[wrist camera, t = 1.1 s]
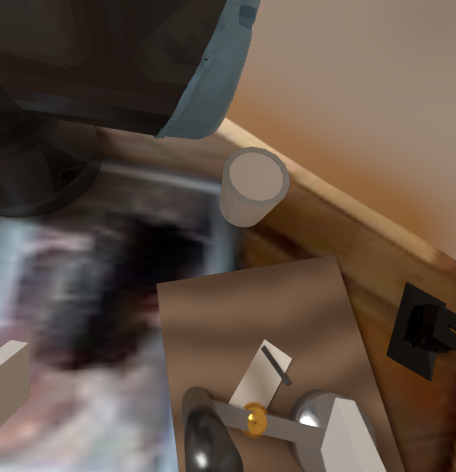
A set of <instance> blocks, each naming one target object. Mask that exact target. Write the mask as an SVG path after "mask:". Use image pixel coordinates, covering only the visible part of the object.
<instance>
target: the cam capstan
mask: <svg viewBox="0 0 456 472" xmlns="http://www.w3.org/2000/svg"><path fill="white" fill-rule="evenodd" d="M335 398H341V399H347V400H352V399H350V398H348V397H346V396H343V395H340V394H338V393H335V392H332V391H329V390H324V389H317V390H312V391H309V392H307V393H305V394H304V395H302V396H301V397H300V398H299V399H298V400H297V401H296V403H295V404H294V406H293V407H292V410H291V412H290V414H289V418H287V417H283V416H279V415H274V414H270V413H268V411H267V409H266V408H265V407H264V406H263V405H262V404H261V403H259V402H255V401H253V402H248V403H247V404H245V405H244V406H243V407H242V406H238V405H233V404H229V403H225V402H221V401H217V400H213V399H210V397H209V395H208V393H207V392H206V390H205V389H203V388H202V387H199V386H194V387H191V388H189V389H188V390H187V391H186V392H185V393H184V395H183V398H182V416H183V433H184V450H185V468H186V472H244V469H243V462H242V458H241V456H240V454H239V452H238V450H237V448H236V446H235V444H234V442H233V440H232V438H231V437H230V435H229V433H228V431H227V429H226V427H225V426H229V427H233V428H238V429H241V430H242V431H243V432H244V434H245V435H247V436H248V437H250V438H260V437H262V436H263V435H267V436H271V437H276V438H280V439H284V440H288V445H289V449H290V452H291V454H292V456H293V458H294V460H295V462H296V463H297V465H298V466H299V467H300V468H301V469H302V470H303V471H304V472H326V468H325V464H324V461H323V457H322V453H321V447H322V444H323V440H324V437H325V433H326V430H327V426H328V423H329V419H330V416H331V412H332V409H333V405H334V402H335ZM352 401H353V400H352ZM355 403H356V402H355ZM356 405H357V408H358V410H359V412H360V414H361V417H362V419H363V421H364V423H365V425H366V428H367V430H368V432H369V434H370V436H371V439H372V441H373V443H374V445H375V448H376V450H377V444H376V437H375V432H374V429H373V426H372V424H371V421H370V419H369V418H368V416H367V414H366V413H365V411H364V410H363V409H362V408H361V407H360V406H359V405H358V404H357V403H356Z"/></svg>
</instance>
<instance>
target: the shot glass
mask: <svg viewBox="0 0 456 472" xmlns="http://www.w3.org/2000/svg"><path fill="white" fill-rule="evenodd" d="M289 187H290V175H289V173H288V171H287V168H286V166H285V164H284V163H283V162H282V161H281V160H280V159H279V158H278V157H277V156H276V155H275V154H273V153H271V152H269V151H268V150H266V149H262V148H257V147H247V148H242V149H239V150H237V151H236V152H234V153H232V154H231V155H230V156H229V157H228V159H227V161H226V162H225V164H224V168H223V177H222V187H221V196H220V206H219V207H220V210H221V213H222V215H223V217H224V218H225V219H226V220H227V221H228V222H229V223H231V224H233V225H235V226H237V227H245V228H246V227H250V226H254V225H255V224H256V223H258V222H259V221H260V220H261V219H262V218H263V217H264V216H266V215H267V214H268V213H269V212H270V211H271V210H272V209H273V208H274V207H275V206H276V205H277V204H278V203H279V202H280V201H281V200H282V199H283V198H284V197H285V195H286V193H287V191H288V189H289Z"/></svg>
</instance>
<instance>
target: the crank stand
mask: <svg viewBox="0 0 456 472" xmlns="http://www.w3.org/2000/svg"><path fill="white" fill-rule="evenodd" d="M157 292H158V301H159V309H160V317H161V326H162V334H163V342H164V351H165V359H166V367H167V376H168V384H169V392H170V401H171V409H172V417H173V426H174V434H175V442H176V451H177V459H178V467H179V472H186V468H185V450H184V433H183V416H182V398H183V395H184V393H185V392H186V391H187V390H188V389H189V388H191V387H194V386H199V387H202V388H203V389H205V390H206V392H207V393H208V395H209V397H210V399H213V400H217V401H221V402H225V403H229V404H233V405H238V406H242V407H243V406H244V405H245V404H247V403H248V402H253V401H255V402H259V403H261V404H262V405H263V406H264V407H265V408H266V409H267V411H268V413H270V414H274V415H279V416H283V417H287V418H289V414H290V412H291V410H292V407H293V406H294V404H295V403H296V401H297V400H298V399H299V398H300V397H301V396H302V395H304V394H305V393H307V392H309V391H312V390H317V389H324V390H329V391H332V392H335V393H338V394H340V395H343V396H346V397H348V398H350V399H352V400H353V401H355V402H356V403H357V404H358V405H359V406H360V407H361V408H362V409H363V410H364V411H365V413H366V414H367V416H368V418H369V419H370V421H371V424H372V426H373V429H374V432H375V437H376V444H377V452H378V454H379V456H380V459H381V461H382V463H383V465H384V467H385V470H386V472H405V470H404V467H403V464H402V461H401V458H400V455H399V452H398V449H397V445H396V442H395V439H394V436H393V433H392V430H391V427H390V424H389V421H388V418H387V415H386V412H385V408H384V405H383V402H382V399H381V396H380V393H379V390H378V387H377V384H376V381H375V378H374V374H373V371H372V368H371V365H370V362H369V359H368V356H367V353H366V350H365V347H364V344H363V340H362V337H361V334H360V331H359V328H358V325H357V322H356V319H355V316H354V313H353V310H352V307H351V303H350V300H349V297H348V294H347V291H346V288H345V285H344V282H343V279H342V276H341V273H340V269H339V266H338V263H337V260H336V257H335V255H329V256H323V257H317V258H311V259H305V260H299V261H292V262H286V263H280V264H274V265H268V266H262V267H256V268H250V269H244V270H238V271H232V272H225V273H219V274H213V275H207V276H201V277H195V278H189V279H183V280H177V281H171V282H165V283H159V284H157ZM225 427H226V429H227V431H228V433H229V435H230V437H231V438H232V440H233V442H234V444H235V446H236V448H237V450H238V452H239V454H240V456H241V458H242V462H243V469H244V472H304V471H303V470H302V469H301V468H300V467H299V466H298V465H297V463H296V462H295V460H294V458H293V456H292V454H291V452H290V449H289V445H288V440H284V439H280V438H276V437H271V436H267V435H263V436H262V437H260V438H250V437H248V436H247V435H245V434H244V432H243V431H242V430H241V429H238V428H233V427H229V426H225Z"/></svg>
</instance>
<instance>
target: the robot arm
mask: <svg viewBox="0 0 456 472" xmlns="http://www.w3.org/2000/svg"><path fill="white" fill-rule="evenodd" d="M260 1H261V0H0V215H4V216H14V217H24V216H34V215H39V214H44V213H47V212H51V211H53V210H56V209H59V208H61V207H63V206H65V205H67V204H68V203H70V202H72V201H73V200H75V199H76V198H77V197H79V196H80V195H81V194H82V193H83V192H84V191H85V190H86V189H87V188H88V187H89V186H90V185H91V183H92V182H93V180H94V179H95V177H96V175H97V173H98V171H99V168H100V165H101V159H102V148H101V143H100V139H99V137H98V134H97V132H96V129H95V127H94V126H99V127H105V128H111V129H117V130H123V131H129V132H135V133H141V134H147V135H153V136H154V137H155V138H164V137H165V136H168V137H177V138H186V139H195V140H196V139H202V138H205V137H207V136H209V135H211V134H213V133H214V132H215V131H216V130H217V129H218V128H219V126H220V125H221V123H222V122H223V120H224V118H225V116H226V114H227V111H228V109H229V107H230V104H231V102H232V100H233V97H234V94H235V91H236V89H237V86H238V83H239V80H240V76H241V73H242V70H243V67H244V63H245V60H246V57H247V53H248V50H249V46H250V42H251V38H252V25H253V24H254V21H255V18H256V13H257V10H258V7H259V4H260ZM29 397H30V379H29V349H28V343H25V342H19V341H14V340H11V341H9V342H8V343H6V344H5V345H4V346H2V347H1V348H0V427H1V426H2V425H3V424H4V423H5V422H6V421H7V420H8V419H9V417H10V416H11V415H12V414H13V413H14V412H15V411H16V410H17V409H18V408H19V407H20V406H21V405H22V404H23V403H24V402H25V401H26V400H27V399H28V398H29ZM321 453H322V457H323V461H324V464H325V468H326V472H386V470H385V467H384V465H383V463H382V461H381V459H380V456H379V454H378V452H377V450H376V448H375V445H374V443H373V441H372V439H371V436H370V434H369V432H368V430H367V428H366V425H365V423H364V421H363V419H362V417H361V414H360V412H359V410H358V408H357V405H356V403H355V401H352V400H347V399H341V398H335V402H334V405H333V409H332V412H331V416H330V419H329V423H328V426H327V430H326V433H325V437H324V440H323V444H322V447H321Z"/></svg>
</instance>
